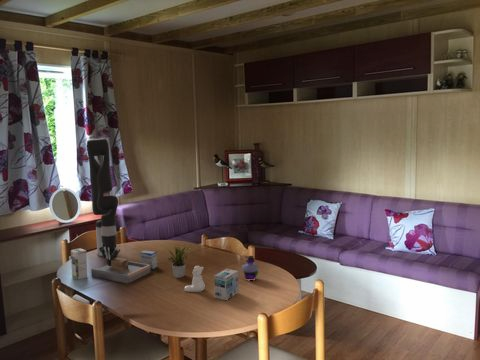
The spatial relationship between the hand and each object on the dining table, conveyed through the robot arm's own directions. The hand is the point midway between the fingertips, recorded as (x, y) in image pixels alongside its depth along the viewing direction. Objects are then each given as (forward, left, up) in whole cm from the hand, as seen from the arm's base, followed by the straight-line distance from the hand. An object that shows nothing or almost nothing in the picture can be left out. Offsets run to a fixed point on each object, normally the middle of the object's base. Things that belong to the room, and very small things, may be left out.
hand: (110, 265), depth 231 cm
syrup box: (+13, -9, -4) cm, 16 cm away
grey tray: (0, +7, -4) cm, 8 cm away
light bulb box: (+1, +70, -4) cm, 70 cm away
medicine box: (-15, +13, -4) cm, 21 cm away
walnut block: (0, +6, -1) cm, 6 cm away
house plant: (-11, +37, -4) cm, 39 cm away
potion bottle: (-22, +71, -4) cm, 75 cm away
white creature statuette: (+1, +54, -4) cm, 55 cm away
